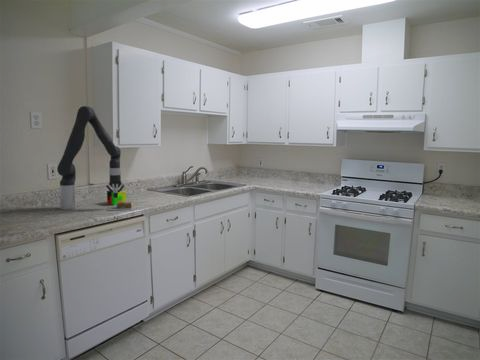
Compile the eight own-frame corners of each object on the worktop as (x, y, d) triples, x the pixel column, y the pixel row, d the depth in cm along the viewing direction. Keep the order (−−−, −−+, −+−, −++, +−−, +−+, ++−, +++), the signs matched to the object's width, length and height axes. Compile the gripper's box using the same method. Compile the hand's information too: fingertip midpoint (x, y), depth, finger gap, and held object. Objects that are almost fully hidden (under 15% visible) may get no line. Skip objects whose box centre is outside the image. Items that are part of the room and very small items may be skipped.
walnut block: (116, 203, 235) (131, 202, 238) (116, 202, 239) (131, 201, 242) (116, 208, 236) (131, 208, 239) (116, 207, 240) (131, 206, 243)
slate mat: (107, 210, 230) (107, 210, 230) (108, 207, 242) (108, 206, 242) (131, 209, 235) (131, 209, 235) (131, 206, 246) (131, 205, 246)
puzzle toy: (119, 201, 261) (118, 189, 260) (126, 203, 255) (125, 191, 254) (107, 203, 254) (107, 191, 252) (114, 205, 248) (113, 192, 246)
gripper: (104, 174, 229) (105, 199, 231) (124, 174, 232) (125, 198, 235) (105, 173, 236) (106, 197, 238) (125, 173, 240) (125, 196, 242)
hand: (115, 197), depth 236 cm, fingers closed
